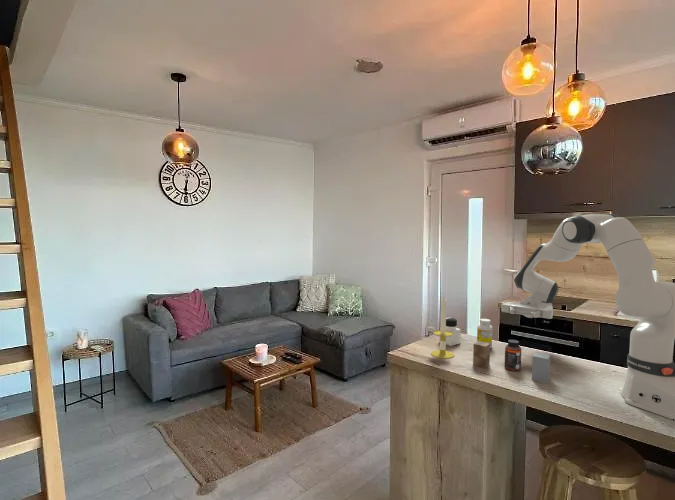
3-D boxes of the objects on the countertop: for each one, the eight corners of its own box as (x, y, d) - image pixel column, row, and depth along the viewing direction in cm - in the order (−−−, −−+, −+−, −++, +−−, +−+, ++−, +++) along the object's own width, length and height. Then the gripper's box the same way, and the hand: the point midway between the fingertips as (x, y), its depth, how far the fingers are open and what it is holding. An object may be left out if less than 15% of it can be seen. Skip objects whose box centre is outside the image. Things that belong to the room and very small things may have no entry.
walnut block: (489, 364, 159) (490, 343, 158) (485, 368, 155) (486, 346, 154) (477, 362, 162) (477, 341, 161) (472, 365, 158) (473, 343, 158)
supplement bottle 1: (477, 343, 186) (478, 317, 185) (492, 345, 183) (493, 318, 182) (476, 347, 180) (476, 320, 179) (491, 349, 177) (492, 322, 176)
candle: (458, 355, 170) (460, 294, 168) (446, 360, 164) (447, 297, 162) (439, 349, 178) (440, 291, 176) (426, 354, 171) (427, 294, 169)
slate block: (549, 378, 145) (550, 355, 144) (546, 383, 141) (547, 359, 140) (534, 375, 148) (535, 352, 147) (531, 379, 144) (532, 355, 144)
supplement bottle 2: (522, 372, 151) (523, 343, 150) (506, 371, 152) (507, 342, 152) (518, 366, 157) (519, 339, 156) (503, 365, 158) (503, 338, 157)
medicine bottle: (460, 343, 186) (461, 319, 185) (450, 346, 182) (451, 321, 182) (449, 339, 192) (449, 316, 191) (439, 342, 188) (439, 318, 188)
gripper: (506, 297, 179) (496, 302, 169) (556, 303, 167) (549, 309, 156) (505, 310, 180) (496, 316, 169) (555, 318, 167) (548, 324, 156)
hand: (522, 313), depth 163 cm, fingers open, 7 cm apart
